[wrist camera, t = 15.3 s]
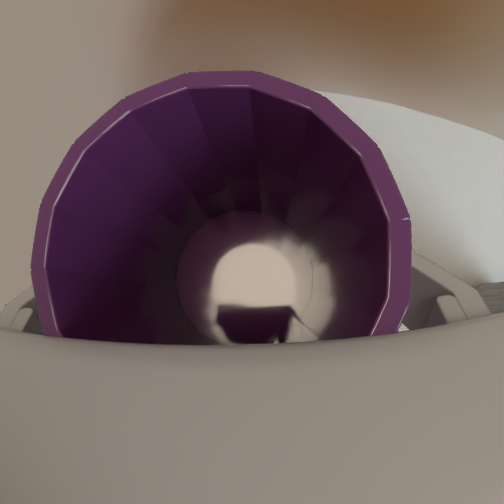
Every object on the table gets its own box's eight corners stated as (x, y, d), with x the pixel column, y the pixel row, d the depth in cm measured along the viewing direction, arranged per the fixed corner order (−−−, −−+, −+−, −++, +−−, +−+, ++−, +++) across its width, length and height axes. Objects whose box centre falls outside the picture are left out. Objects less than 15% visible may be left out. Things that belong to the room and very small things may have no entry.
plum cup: (143, 270, 15) (-5, 232, 5) (252, 176, 16) (229, 26, 6) (236, 384, 14) (185, 508, 4) (351, 285, 15) (477, 264, 5)
